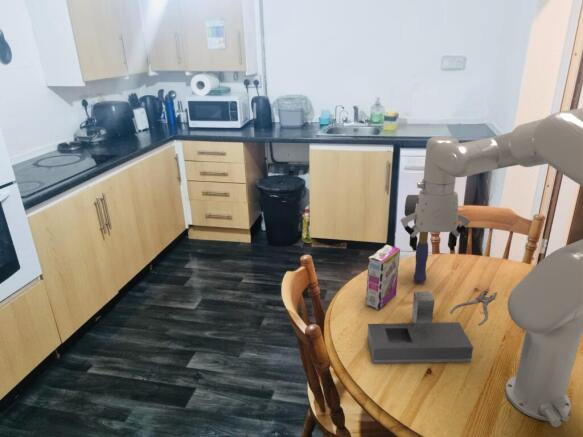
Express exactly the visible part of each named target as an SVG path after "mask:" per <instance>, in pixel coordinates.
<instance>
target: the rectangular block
mask: <svg viewBox="0 0 583 437" xmlns="http://www.w3.org/2000/svg"><path fill="white" fill-rule="evenodd" d="M366 337H367V342H368V346H369V347H368V348H369V350H370V351H369V352H370V354H371V359H372V363H373V364H416V363H417V364H420V363H423V364H424V363H425V364H426V363H429V364H430V363H433V364H434V363H435V364H437V363H471V362H472V357H473V351H474V346H473V344H472V342H471V340H470V339H469V337H468V336H467V333H466V332H465V330H464V328H463V326H462V325H461V323H460V322H459V321H457V322H455V321H453V322H432V323H413V322H403V323H400V322H398V323H397V322H396V323H392V322H391V323H368V324H367V336H366Z"/></svg>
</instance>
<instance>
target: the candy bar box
mask: <svg viewBox="0 0 583 437" xmlns="http://www.w3.org/2000/svg"><path fill="white" fill-rule="evenodd" d="M400 253H401V248H400V247H397V246H392V245H389V244H385V245H384V246H382V247H381V248H380V249H378V250H377V251H375V253H373V254H372V255H370V256H369V257H368V262H367V264H368V266H367V280H366V293H365V294H366V298H365V306H368V307H369V308H372V309H375V310H377V311H380V310H382V308H383V307H384V306H385V305H387V303H389V302H390V300H392V299H393V298H394V297H395V296H396V295H397V291H398V290H397V288H398V277H399V266H400V255H401V254H400Z"/></svg>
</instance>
